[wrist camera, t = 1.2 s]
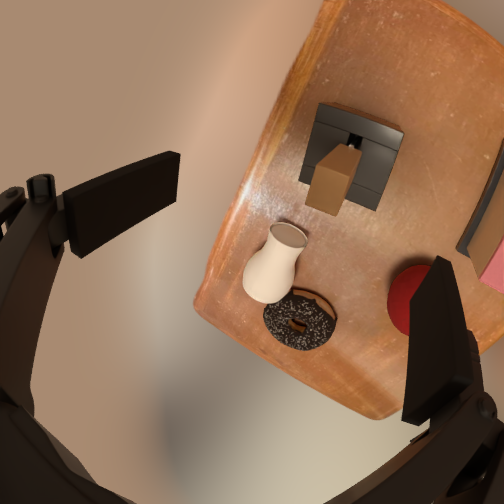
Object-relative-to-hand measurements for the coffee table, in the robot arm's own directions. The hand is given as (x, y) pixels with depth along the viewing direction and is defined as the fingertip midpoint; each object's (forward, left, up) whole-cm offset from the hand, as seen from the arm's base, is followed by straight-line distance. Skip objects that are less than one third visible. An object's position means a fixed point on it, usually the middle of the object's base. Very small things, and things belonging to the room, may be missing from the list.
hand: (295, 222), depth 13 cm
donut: (+28, +1, -24) cm, 37 cm away
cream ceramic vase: (+18, -5, -24) cm, 30 cm away
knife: (0, 0, -23) cm, 23 cm away
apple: (+14, +15, -24) cm, 32 cm away
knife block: (0, 0, -24) cm, 24 cm away
